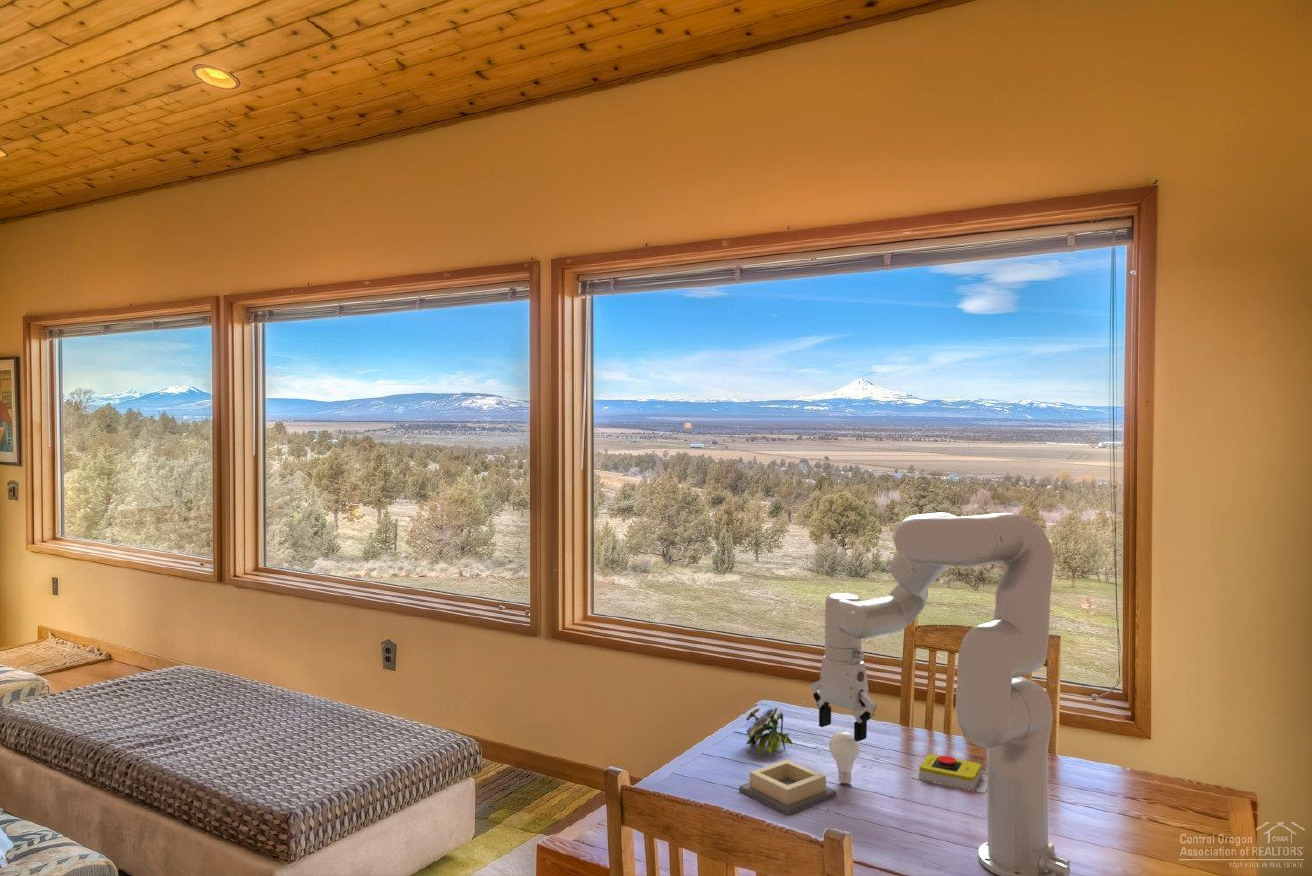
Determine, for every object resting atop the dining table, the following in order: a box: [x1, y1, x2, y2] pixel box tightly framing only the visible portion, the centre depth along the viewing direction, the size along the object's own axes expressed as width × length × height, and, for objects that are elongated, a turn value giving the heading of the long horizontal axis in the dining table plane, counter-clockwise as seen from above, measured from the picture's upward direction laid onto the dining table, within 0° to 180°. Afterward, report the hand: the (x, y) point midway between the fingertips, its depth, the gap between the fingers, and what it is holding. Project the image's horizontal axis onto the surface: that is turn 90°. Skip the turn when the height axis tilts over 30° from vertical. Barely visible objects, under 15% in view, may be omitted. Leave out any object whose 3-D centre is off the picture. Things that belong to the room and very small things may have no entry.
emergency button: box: [911, 753, 987, 794], centre depth 177 cm, size 9×4×15 cm
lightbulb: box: [828, 730, 861, 785], centre depth 175 cm, size 6×6×11 cm
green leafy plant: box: [745, 707, 793, 758], centre depth 195 cm, size 11×11×12 cm
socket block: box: [739, 758, 837, 816], centre depth 170 cm, size 14×14×4 cm
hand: (842, 732), depth 175 cm, fingers open, 9 cm apart
